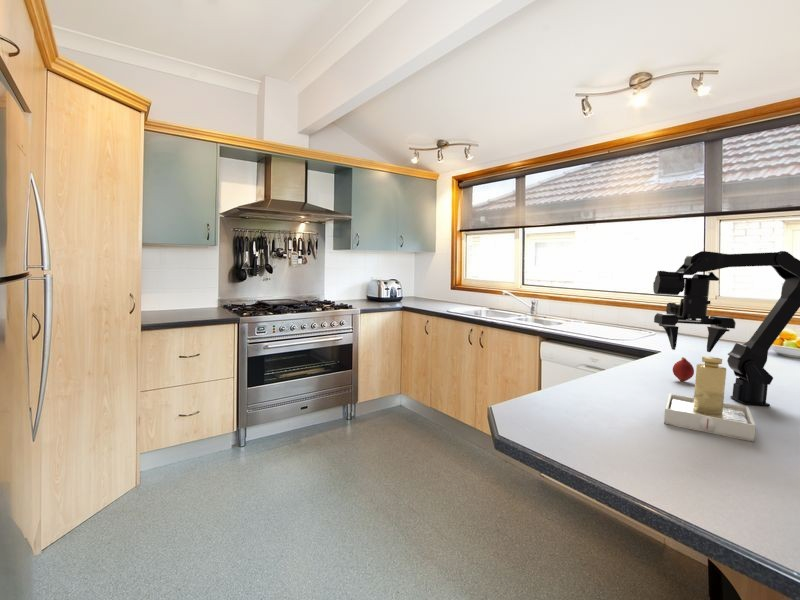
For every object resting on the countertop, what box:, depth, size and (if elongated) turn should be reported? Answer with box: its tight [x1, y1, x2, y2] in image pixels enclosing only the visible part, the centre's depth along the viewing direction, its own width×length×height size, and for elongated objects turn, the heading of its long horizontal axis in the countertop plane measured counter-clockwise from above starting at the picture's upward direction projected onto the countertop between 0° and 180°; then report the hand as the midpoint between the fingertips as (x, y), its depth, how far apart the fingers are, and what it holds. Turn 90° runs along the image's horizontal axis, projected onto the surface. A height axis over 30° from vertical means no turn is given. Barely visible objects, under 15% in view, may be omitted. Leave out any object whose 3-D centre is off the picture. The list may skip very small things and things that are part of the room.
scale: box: [663, 393, 756, 442], centre depth 100 cm, size 16×16×4 cm
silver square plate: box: [671, 398, 747, 423], centre depth 100 cm, size 14×14×1 cm
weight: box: [693, 356, 727, 415], centre depth 100 cm, size 6×6×12 cm
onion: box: [672, 356, 695, 383], centre depth 139 cm, size 6×6×8 cm
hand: (690, 350), depth 122 cm, fingers open, 9 cm apart
